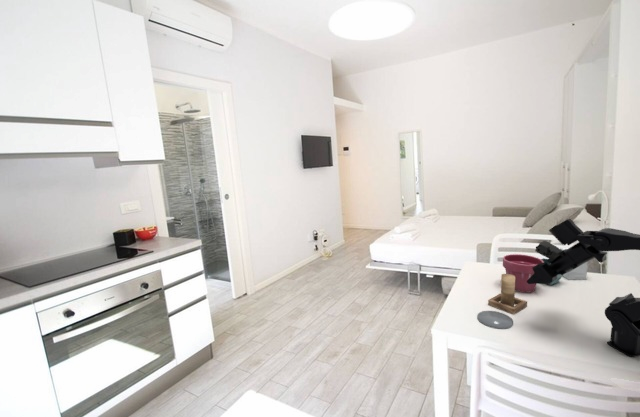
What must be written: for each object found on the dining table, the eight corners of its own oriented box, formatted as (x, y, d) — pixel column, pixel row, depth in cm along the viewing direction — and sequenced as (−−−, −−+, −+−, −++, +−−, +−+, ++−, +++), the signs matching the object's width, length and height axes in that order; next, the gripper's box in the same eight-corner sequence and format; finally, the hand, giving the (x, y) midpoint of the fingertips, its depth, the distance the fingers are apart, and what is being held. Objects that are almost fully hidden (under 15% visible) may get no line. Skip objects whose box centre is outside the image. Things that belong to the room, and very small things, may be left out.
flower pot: (530, 281, 134) (531, 261, 132) (542, 276, 137) (543, 257, 136) (552, 288, 126) (554, 267, 124) (564, 283, 129) (566, 263, 128)
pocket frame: (527, 306, 113) (527, 301, 113) (514, 314, 109) (514, 309, 108) (501, 297, 121) (501, 292, 121) (488, 304, 116) (488, 299, 116)
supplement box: (587, 280, 131) (589, 252, 129) (567, 279, 132) (569, 252, 130) (576, 273, 138) (578, 247, 136) (558, 273, 139) (559, 247, 137)
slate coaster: (521, 326, 101) (521, 324, 101) (490, 330, 100) (490, 329, 100) (498, 310, 112) (498, 309, 112) (470, 314, 111) (470, 312, 111)
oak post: (517, 307, 113) (518, 277, 111) (506, 309, 112) (507, 278, 110) (508, 302, 117) (509, 273, 115) (498, 303, 117) (498, 274, 115)
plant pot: (534, 281, 133) (535, 254, 131) (548, 296, 120) (550, 265, 118) (497, 280, 137) (498, 253, 135) (508, 294, 124) (509, 264, 121)
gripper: (567, 230, 103) (530, 253, 114) (540, 241, 93) (503, 265, 105) (595, 257, 97) (553, 279, 109) (570, 272, 88) (527, 294, 99)
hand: (534, 279), depth 105 cm, fingers open, 9 cm apart
